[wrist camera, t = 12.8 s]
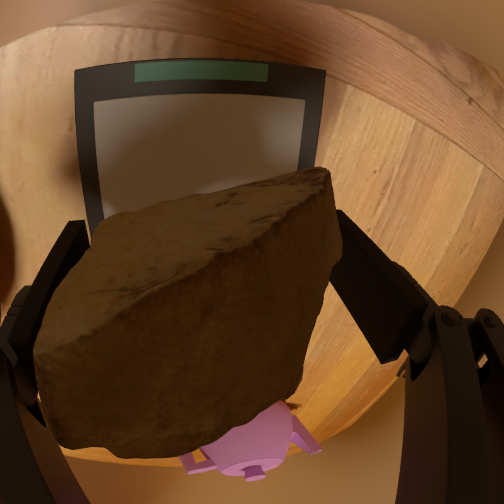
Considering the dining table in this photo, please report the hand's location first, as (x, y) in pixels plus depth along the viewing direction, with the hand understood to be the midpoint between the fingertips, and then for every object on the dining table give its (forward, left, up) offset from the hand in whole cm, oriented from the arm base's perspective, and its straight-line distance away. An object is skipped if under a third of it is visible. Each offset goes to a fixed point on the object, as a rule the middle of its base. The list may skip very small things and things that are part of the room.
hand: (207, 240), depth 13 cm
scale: (0, 0, -11) cm, 11 cm away
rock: (0, 0, -1) cm, 1 cm away
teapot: (+38, +5, -11) cm, 40 cm away
